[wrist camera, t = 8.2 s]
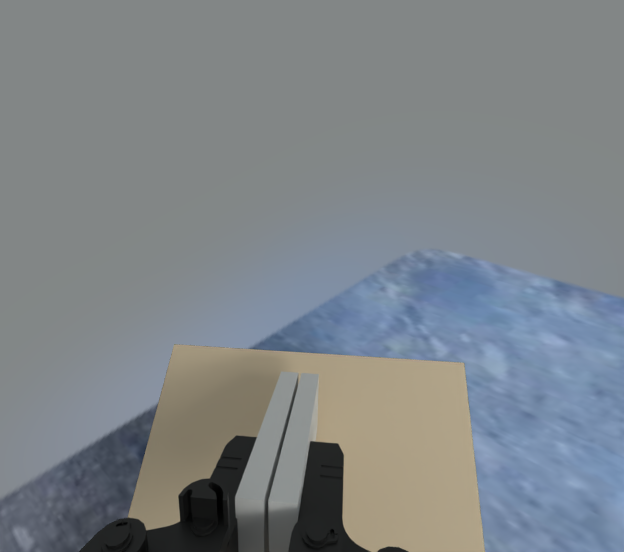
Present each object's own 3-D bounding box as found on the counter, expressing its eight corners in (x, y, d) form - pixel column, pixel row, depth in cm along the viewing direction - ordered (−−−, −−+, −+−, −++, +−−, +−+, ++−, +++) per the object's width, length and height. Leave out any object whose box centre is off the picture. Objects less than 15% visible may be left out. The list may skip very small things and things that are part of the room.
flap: (497, 722, 12) (460, 366, 18) (504, 733, 12) (464, 362, 17) (97, 658, 14) (178, 347, 19) (87, 665, 13) (174, 344, 19)
